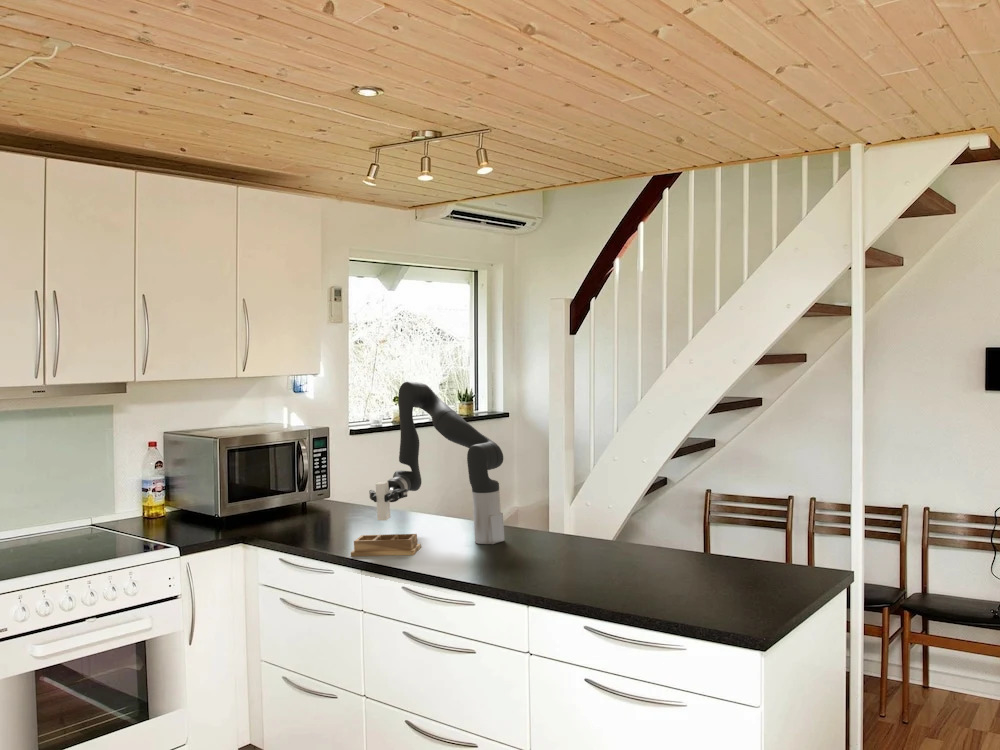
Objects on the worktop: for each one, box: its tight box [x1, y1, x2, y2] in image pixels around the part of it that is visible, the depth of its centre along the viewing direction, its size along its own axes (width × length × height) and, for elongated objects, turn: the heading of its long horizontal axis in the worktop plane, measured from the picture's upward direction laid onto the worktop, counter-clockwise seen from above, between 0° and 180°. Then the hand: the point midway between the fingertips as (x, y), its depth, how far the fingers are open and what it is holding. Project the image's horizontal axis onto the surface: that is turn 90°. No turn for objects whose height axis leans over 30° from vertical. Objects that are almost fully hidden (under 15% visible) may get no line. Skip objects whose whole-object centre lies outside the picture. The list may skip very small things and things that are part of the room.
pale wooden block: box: [375, 480, 391, 521], centre depth 283 cm, size 4×3×12 cm, turn 171°
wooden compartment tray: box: [350, 533, 422, 557], centre depth 283 cm, size 10×21×5 cm, turn 81°
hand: (380, 498), depth 280 cm, fingers closed on pale wooden block, 3 cm apart
